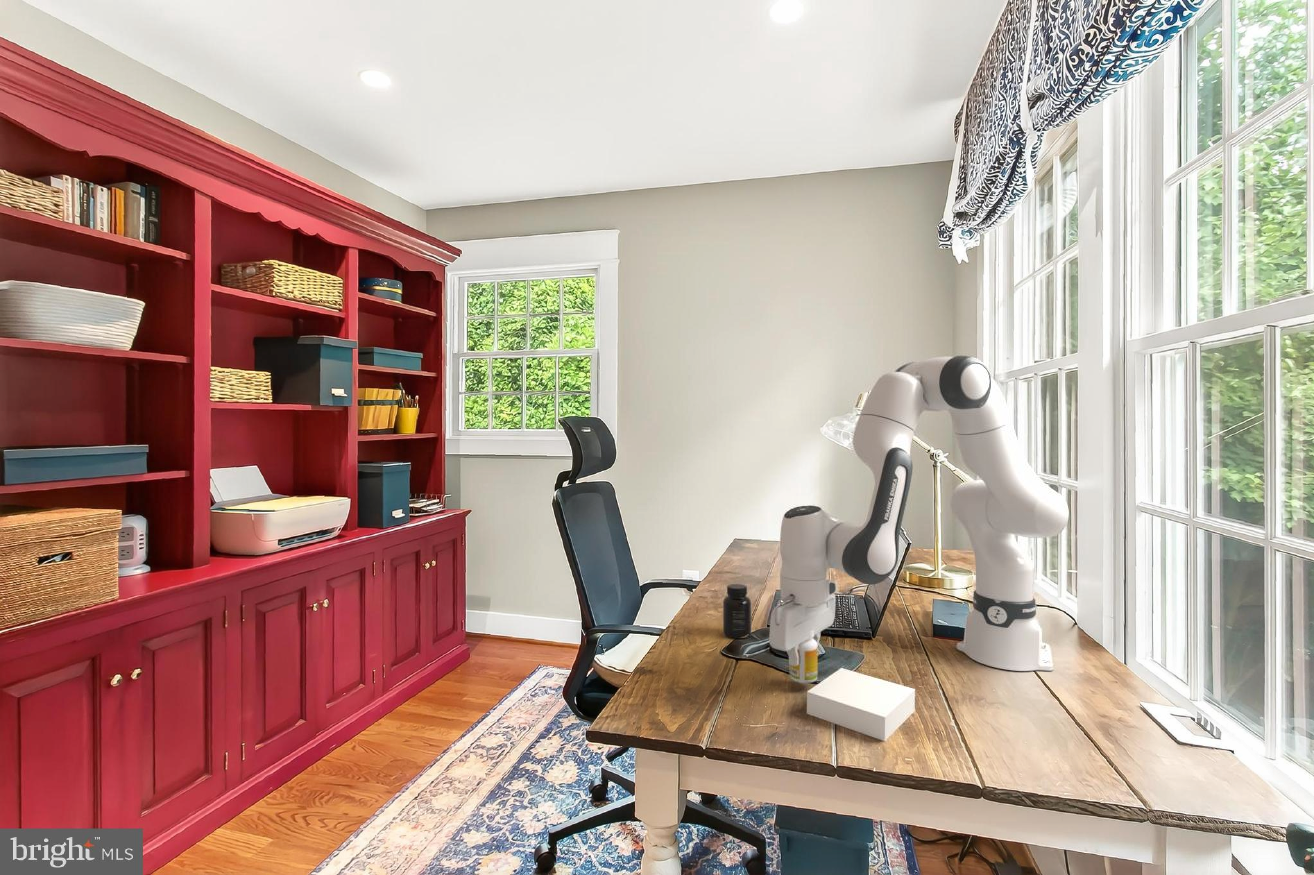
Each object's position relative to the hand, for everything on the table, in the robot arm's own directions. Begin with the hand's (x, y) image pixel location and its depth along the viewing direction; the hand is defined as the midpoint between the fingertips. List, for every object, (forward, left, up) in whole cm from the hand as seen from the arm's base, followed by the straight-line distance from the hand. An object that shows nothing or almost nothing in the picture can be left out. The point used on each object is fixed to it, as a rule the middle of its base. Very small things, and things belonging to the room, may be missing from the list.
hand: (803, 659), depth 119 cm
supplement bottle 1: (-16, -26, -6) cm, 31 cm away
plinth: (+2, +13, -6) cm, 14 cm away
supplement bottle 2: (0, 0, -4) cm, 4 cm away
